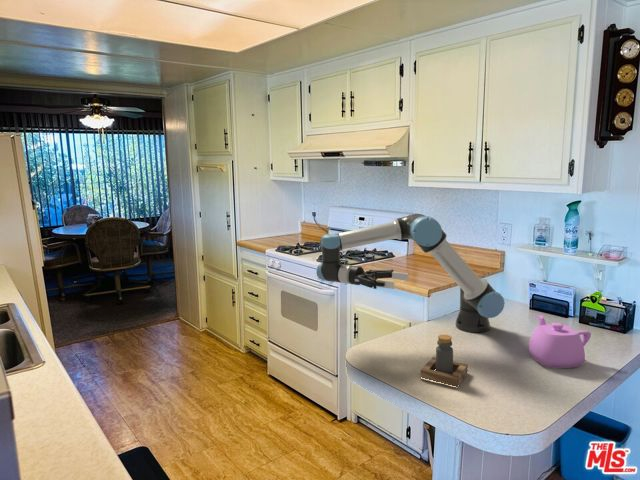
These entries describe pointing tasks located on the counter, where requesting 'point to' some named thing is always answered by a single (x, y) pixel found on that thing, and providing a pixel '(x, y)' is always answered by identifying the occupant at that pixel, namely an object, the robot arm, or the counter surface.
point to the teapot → (558, 345)
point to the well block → (445, 378)
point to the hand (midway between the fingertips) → (401, 280)
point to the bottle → (444, 354)
